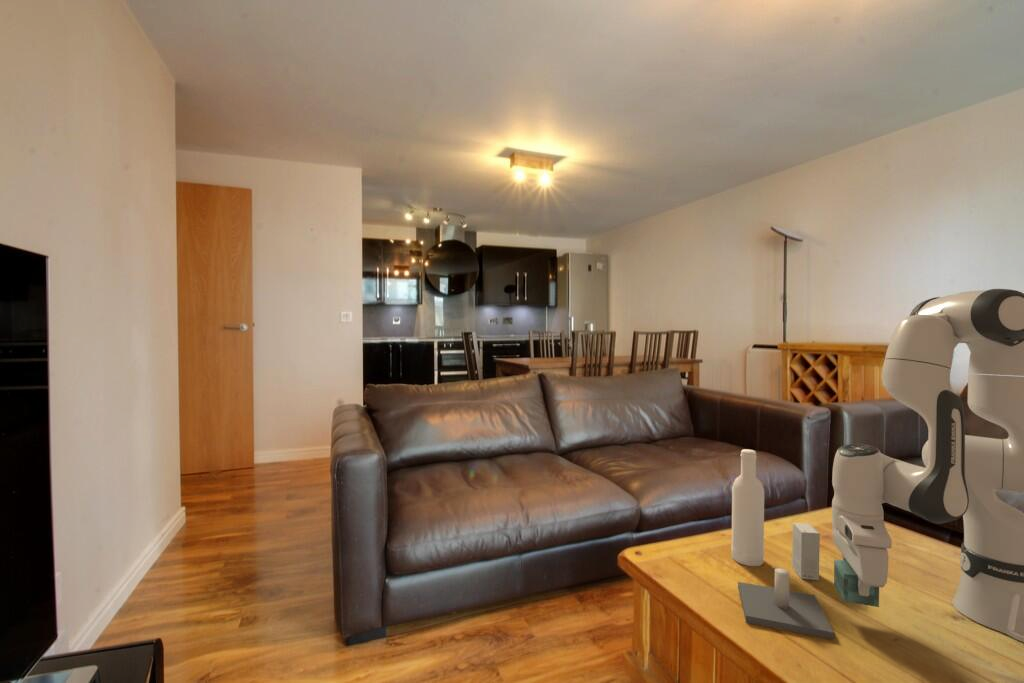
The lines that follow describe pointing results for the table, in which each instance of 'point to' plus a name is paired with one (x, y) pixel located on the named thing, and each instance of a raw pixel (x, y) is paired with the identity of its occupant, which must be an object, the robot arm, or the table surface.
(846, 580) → the sage green cube
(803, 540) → the skincare box
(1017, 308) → the robot arm
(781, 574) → the post block
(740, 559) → the bottle
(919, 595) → the table surface
